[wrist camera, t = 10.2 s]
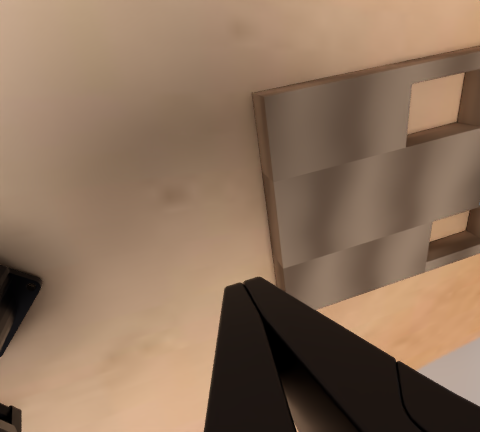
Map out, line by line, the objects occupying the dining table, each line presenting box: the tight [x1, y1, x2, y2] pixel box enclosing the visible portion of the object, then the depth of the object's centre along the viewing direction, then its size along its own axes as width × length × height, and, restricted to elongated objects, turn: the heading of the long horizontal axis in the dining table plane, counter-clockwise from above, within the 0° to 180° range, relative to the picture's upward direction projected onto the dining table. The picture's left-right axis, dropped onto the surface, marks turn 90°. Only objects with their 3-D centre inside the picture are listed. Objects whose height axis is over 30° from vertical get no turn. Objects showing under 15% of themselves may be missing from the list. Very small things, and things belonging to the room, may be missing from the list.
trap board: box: [252, 46, 480, 310], centre depth 21 cm, size 24×16×7 cm, turn 99°
